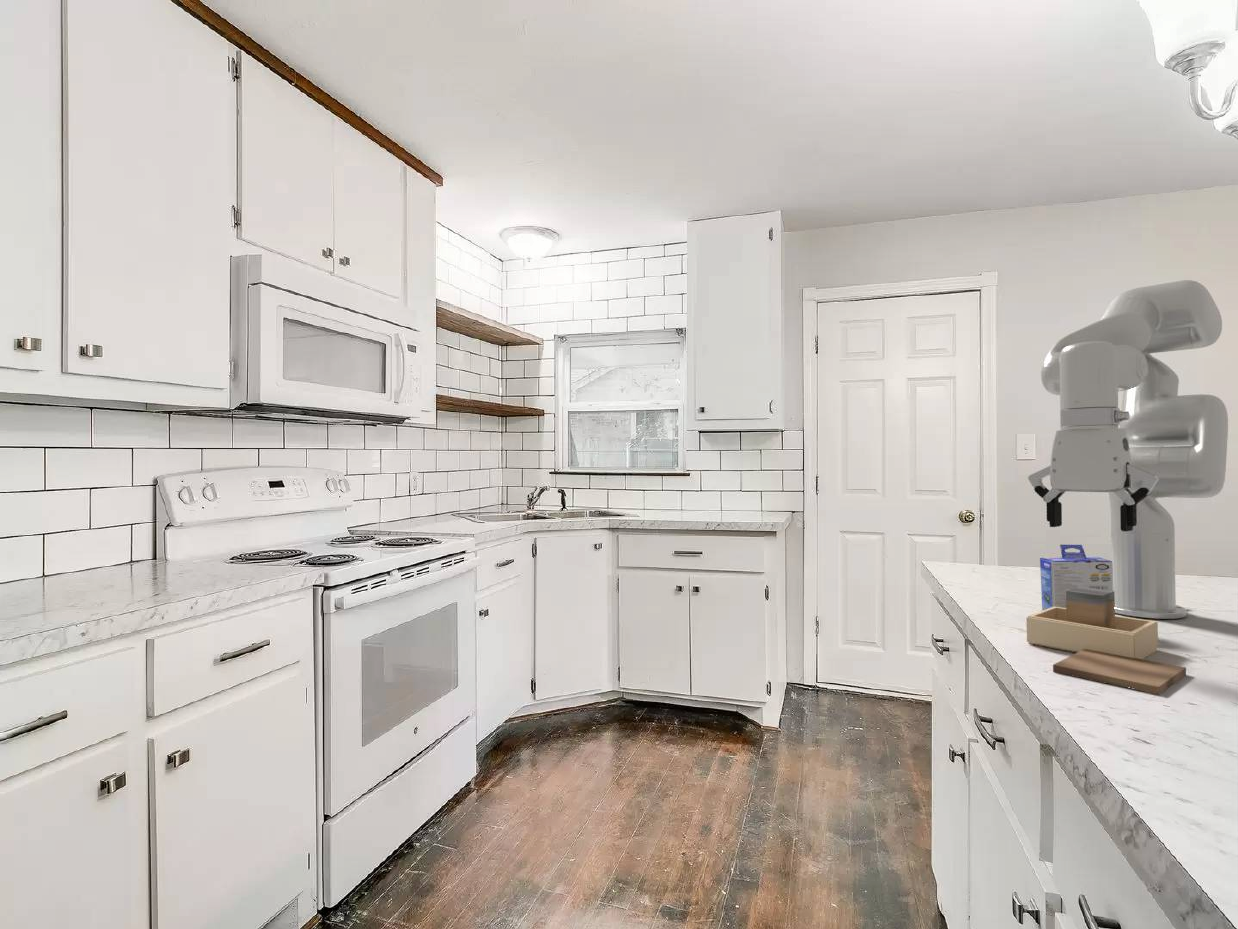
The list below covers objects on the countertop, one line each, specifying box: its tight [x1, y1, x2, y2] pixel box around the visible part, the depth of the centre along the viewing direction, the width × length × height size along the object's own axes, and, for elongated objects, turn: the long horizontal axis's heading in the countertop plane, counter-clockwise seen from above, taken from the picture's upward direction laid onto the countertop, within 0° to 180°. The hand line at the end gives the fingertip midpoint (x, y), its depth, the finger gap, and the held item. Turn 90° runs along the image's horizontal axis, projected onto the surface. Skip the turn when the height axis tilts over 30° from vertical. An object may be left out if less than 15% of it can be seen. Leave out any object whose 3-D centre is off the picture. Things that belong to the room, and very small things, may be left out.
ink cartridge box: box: [1039, 544, 1113, 611], centre depth 117 cm, size 10×6×14 cm, turn 78°
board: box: [1052, 649, 1187, 695], centre depth 93 cm, size 12×12×1 cm
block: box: [1066, 587, 1116, 629], centre depth 105 cm, size 5×5×9 cm
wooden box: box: [1026, 607, 1159, 660], centre depth 105 cm, size 11×14×4 cm
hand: (1089, 528), depth 105 cm, fingers open, 9 cm apart
